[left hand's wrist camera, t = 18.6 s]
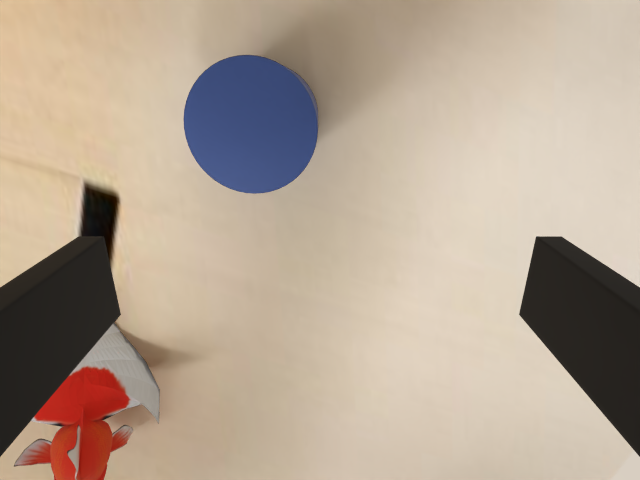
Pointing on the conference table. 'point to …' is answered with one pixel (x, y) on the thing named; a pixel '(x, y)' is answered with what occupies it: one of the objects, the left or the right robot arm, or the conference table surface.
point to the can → (251, 123)
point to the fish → (93, 409)
